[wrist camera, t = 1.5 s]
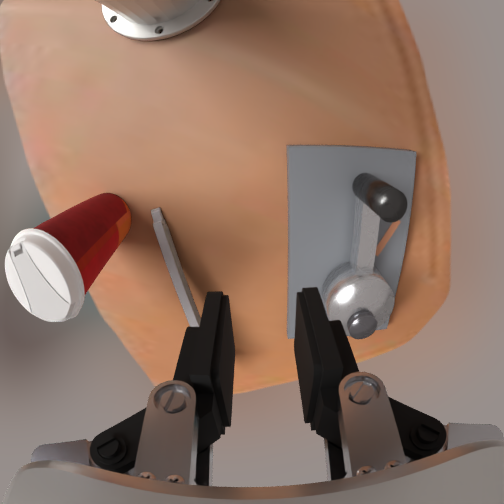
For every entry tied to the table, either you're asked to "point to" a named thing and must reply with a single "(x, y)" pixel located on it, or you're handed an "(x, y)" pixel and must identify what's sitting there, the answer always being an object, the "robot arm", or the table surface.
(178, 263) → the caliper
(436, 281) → the table surface
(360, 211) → the metal crank handle
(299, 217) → the stand
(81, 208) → the paper cup
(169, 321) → the table surface
